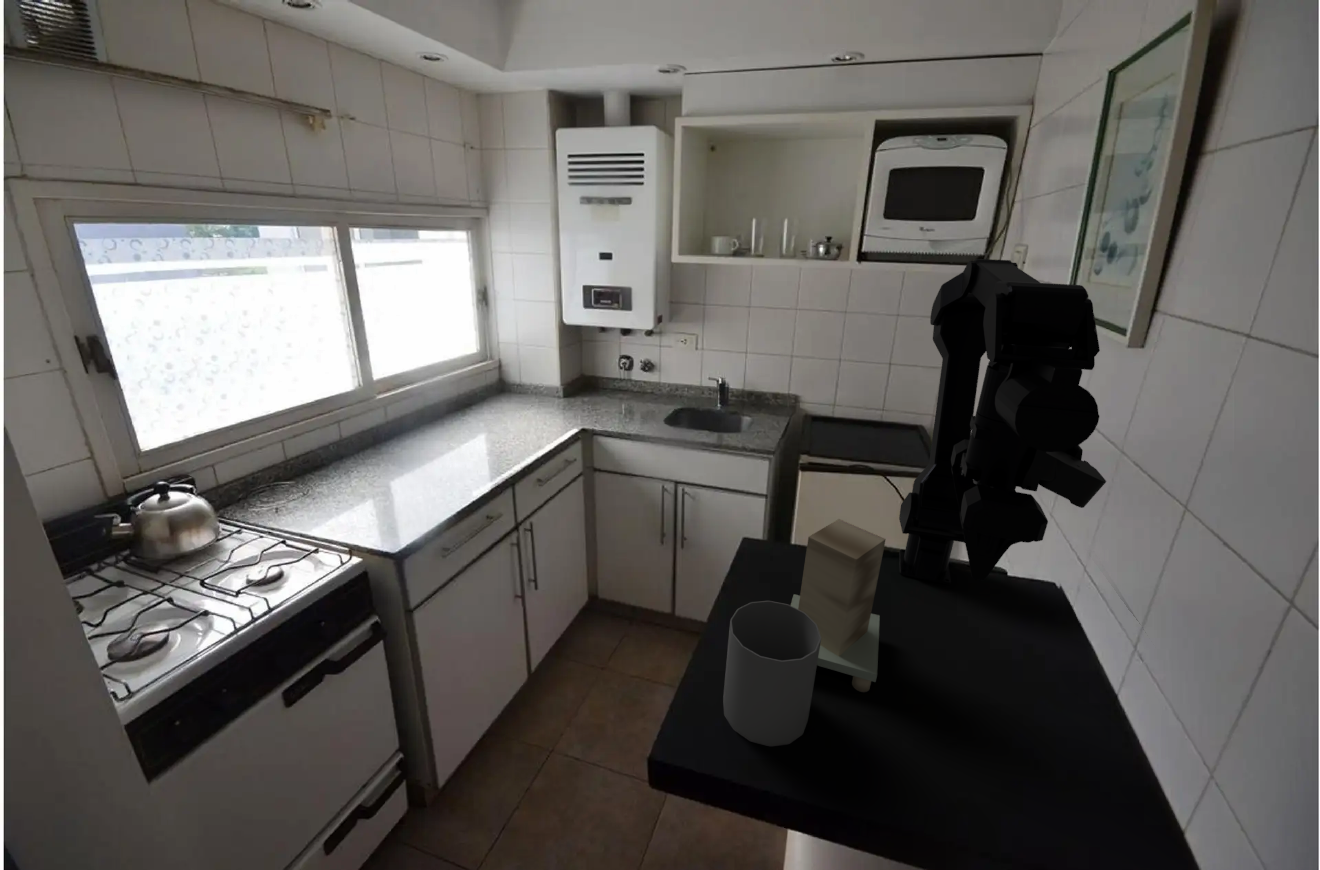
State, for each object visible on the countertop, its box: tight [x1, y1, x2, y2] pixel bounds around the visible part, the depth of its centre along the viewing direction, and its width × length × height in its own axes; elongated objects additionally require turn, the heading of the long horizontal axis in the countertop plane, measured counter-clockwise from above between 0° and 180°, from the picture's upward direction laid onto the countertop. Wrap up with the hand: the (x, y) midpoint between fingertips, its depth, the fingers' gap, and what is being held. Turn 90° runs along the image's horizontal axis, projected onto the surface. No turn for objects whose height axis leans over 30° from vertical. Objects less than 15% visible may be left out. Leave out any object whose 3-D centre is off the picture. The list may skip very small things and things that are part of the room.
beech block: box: [798, 518, 886, 656], centre depth 61 cm, size 6×6×12 cm
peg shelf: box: [790, 593, 880, 693], centre depth 63 cm, size 10×10×3 cm
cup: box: [722, 600, 821, 747], centre depth 54 cm, size 8×8×10 cm
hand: (973, 556), depth 59 cm, fingers open, 9 cm apart
